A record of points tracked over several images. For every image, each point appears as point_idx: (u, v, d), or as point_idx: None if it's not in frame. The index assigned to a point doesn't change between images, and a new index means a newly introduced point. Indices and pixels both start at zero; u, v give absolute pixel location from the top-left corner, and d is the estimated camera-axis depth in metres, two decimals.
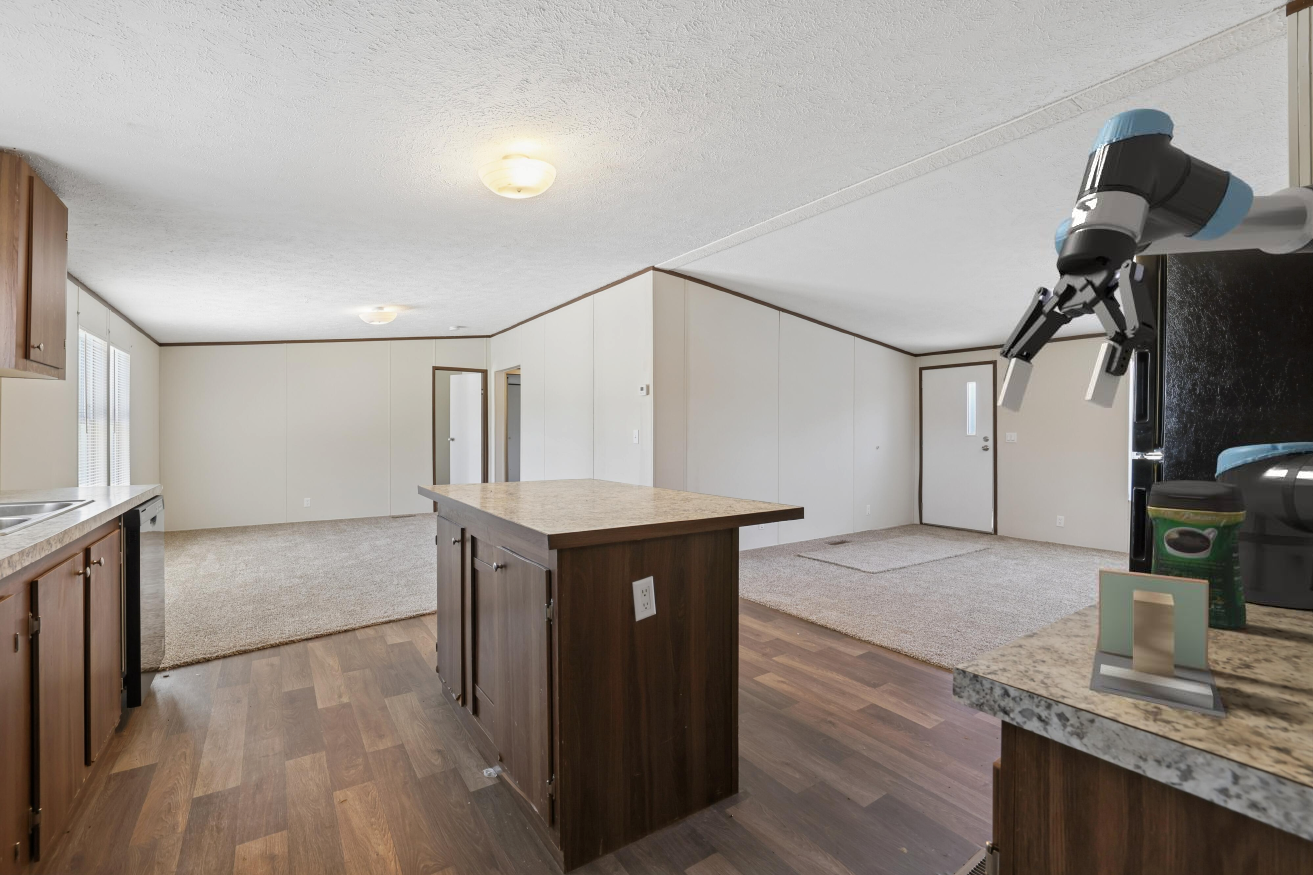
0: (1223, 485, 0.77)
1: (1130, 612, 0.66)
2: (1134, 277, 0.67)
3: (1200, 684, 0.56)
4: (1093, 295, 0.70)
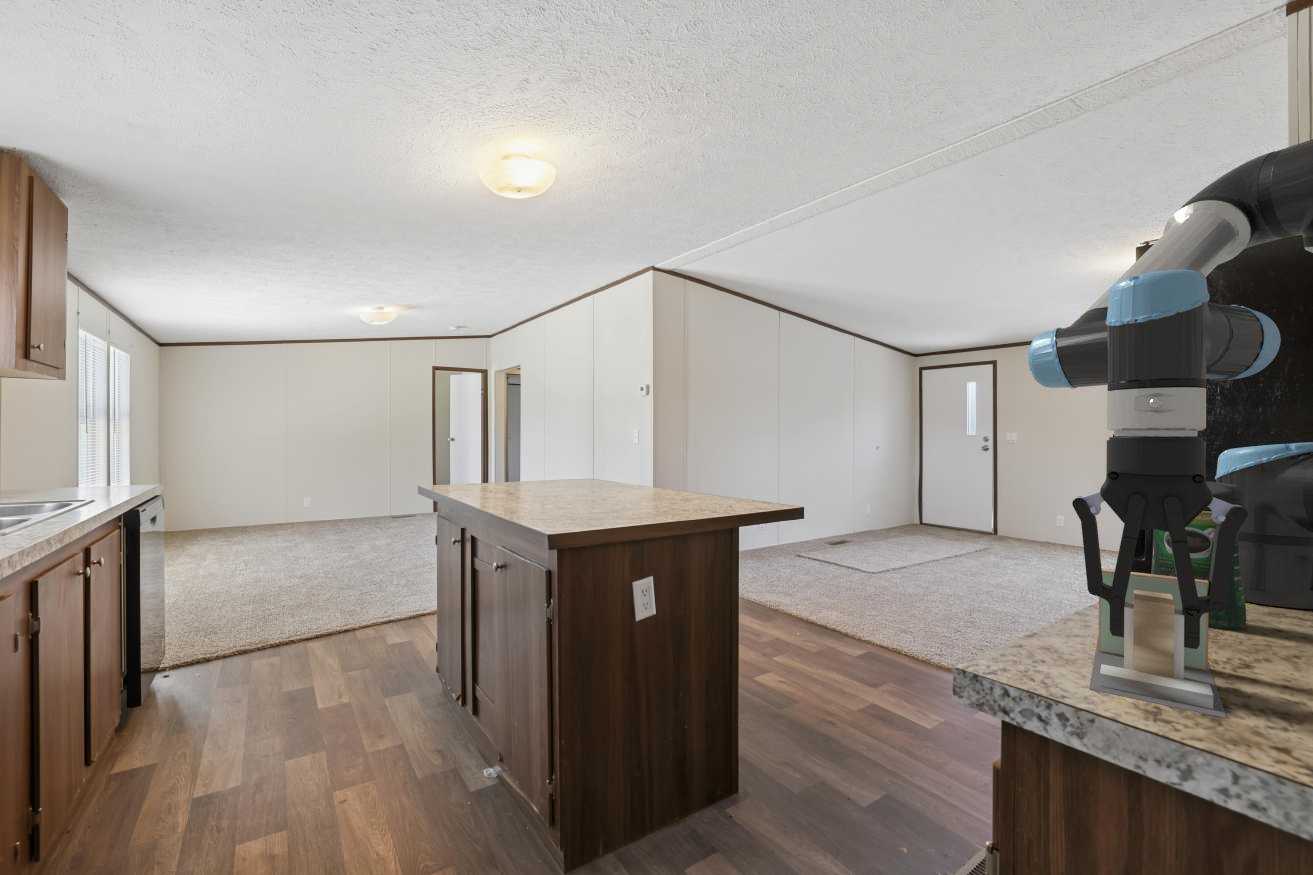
0: (1223, 485, 0.77)
1: None
2: None
3: (1200, 684, 0.56)
4: (1183, 535, 0.57)
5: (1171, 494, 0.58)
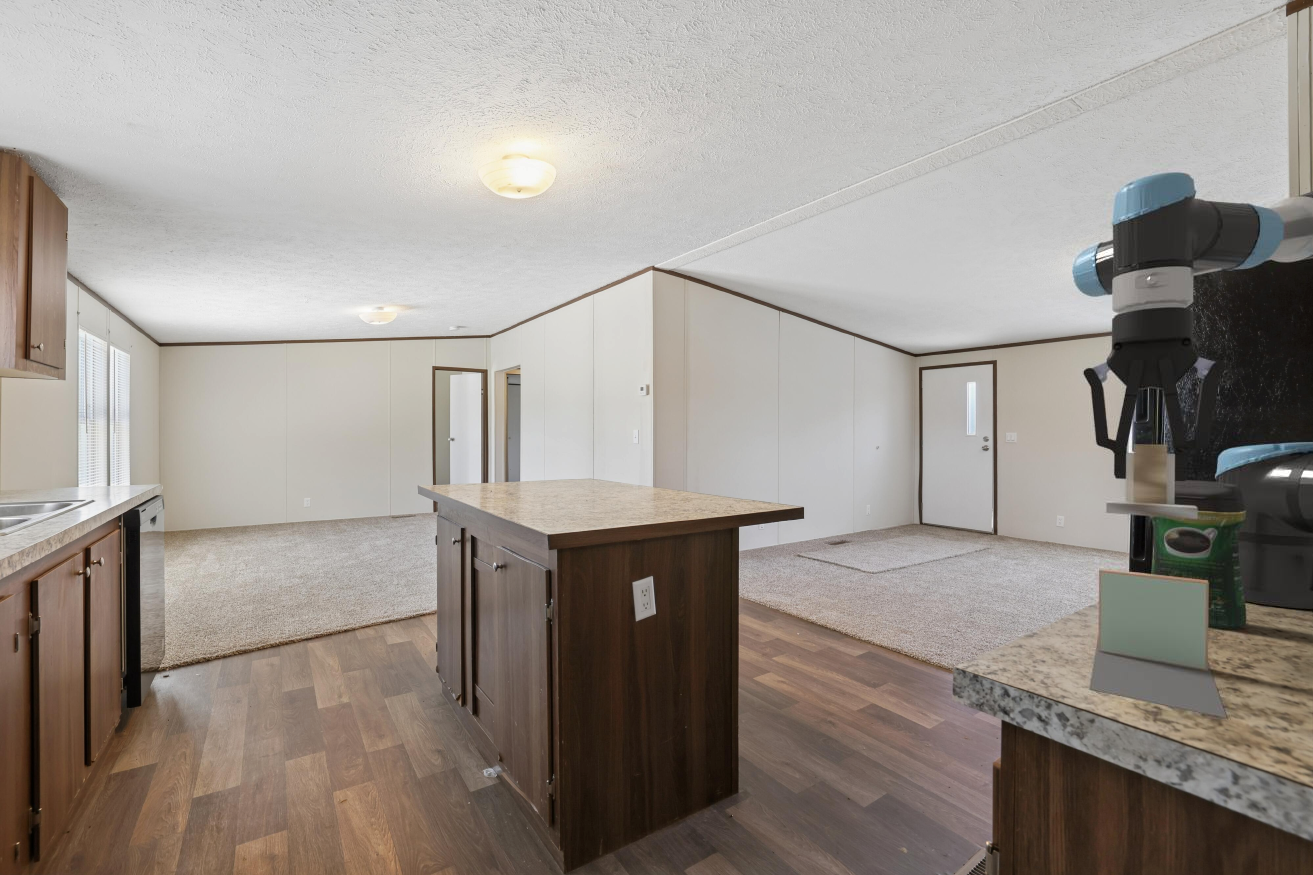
0: (1223, 485, 0.77)
1: (1130, 612, 0.66)
2: None
3: (1187, 505, 0.69)
4: (1174, 388, 0.70)
5: (1165, 357, 0.71)
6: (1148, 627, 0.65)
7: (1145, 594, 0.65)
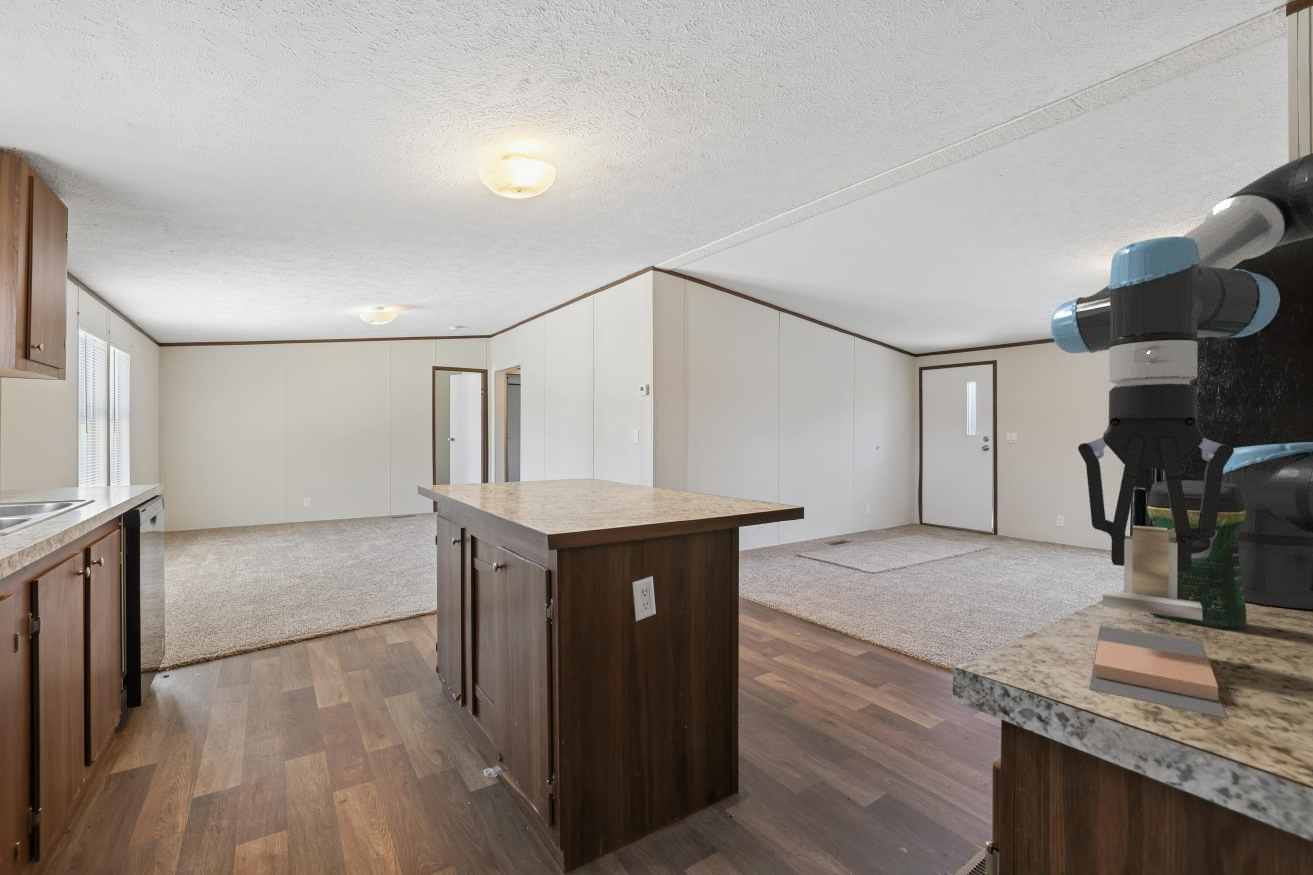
0: (1223, 485, 0.77)
1: None
2: None
3: (1191, 601, 0.63)
4: (1176, 471, 0.65)
5: (1166, 436, 0.65)
6: None
7: None
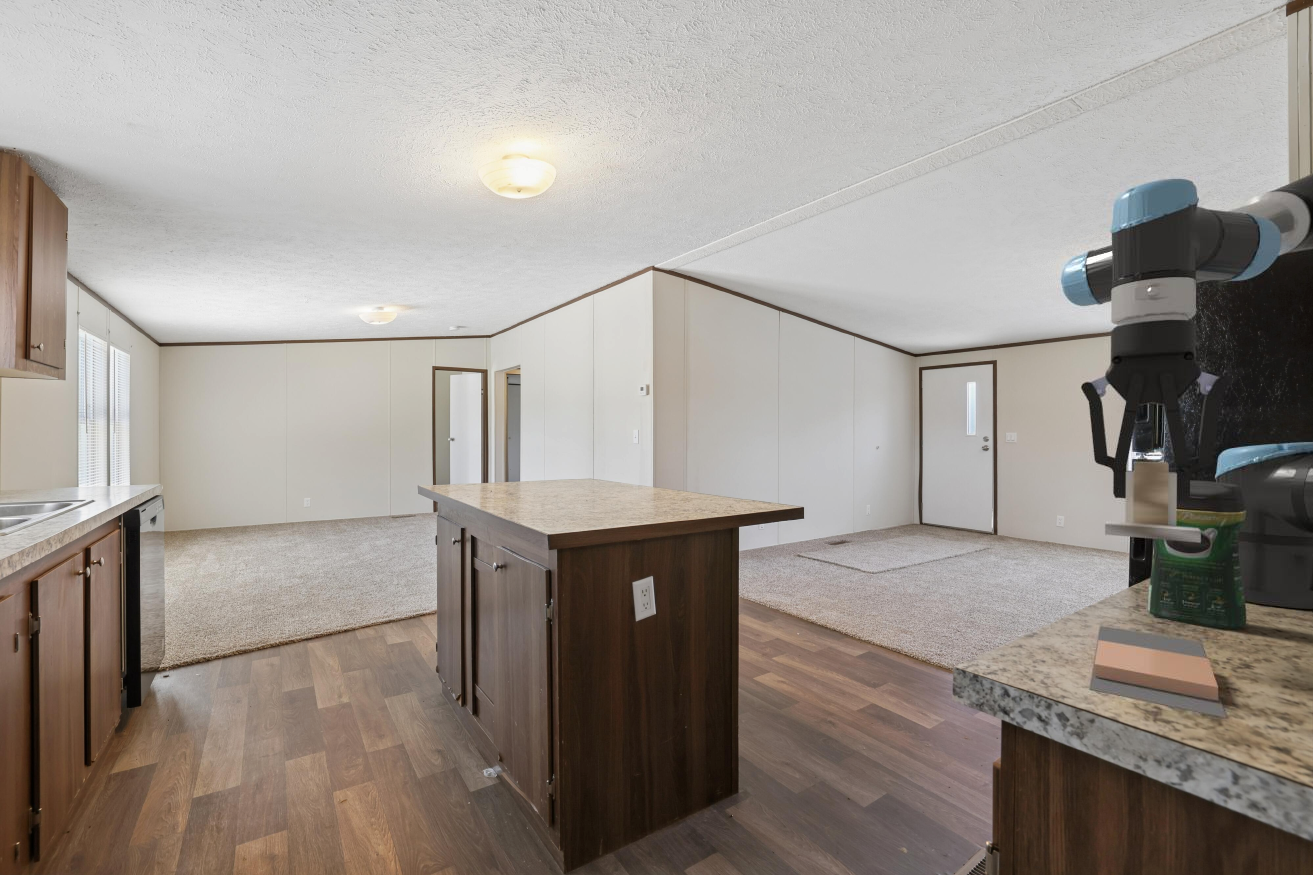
0: (1223, 485, 0.77)
1: None
2: None
3: (1190, 527, 0.66)
4: (1176, 404, 0.67)
5: (1166, 371, 0.68)
6: None
7: None
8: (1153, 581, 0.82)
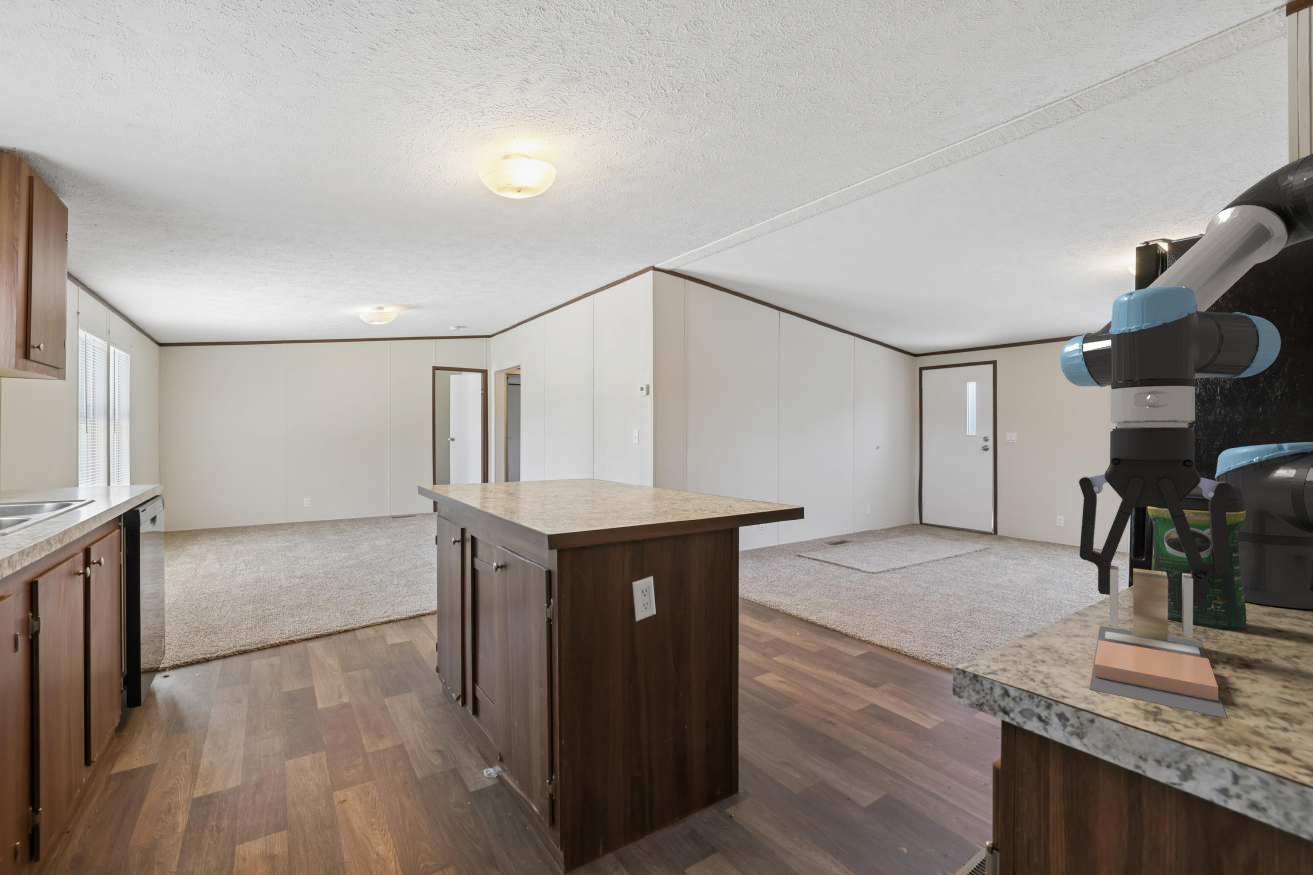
0: None
1: None
2: None
3: (1189, 646, 0.66)
4: (1180, 510, 0.67)
5: (1164, 477, 0.68)
6: None
7: None
8: None
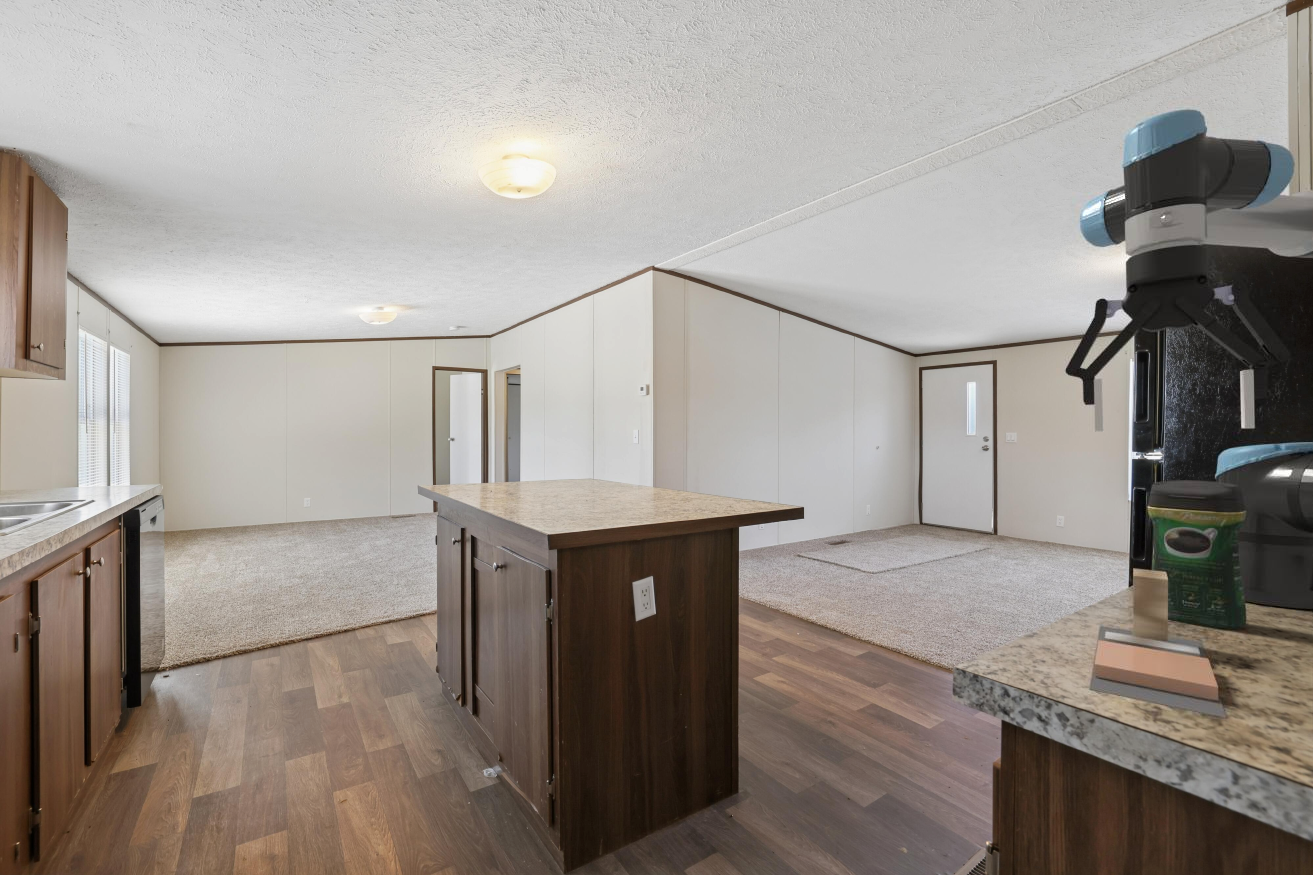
0: (1223, 485, 0.77)
1: None
2: None
3: (1189, 646, 0.66)
4: (1208, 317, 0.69)
5: (1177, 297, 0.71)
6: None
7: None
8: None
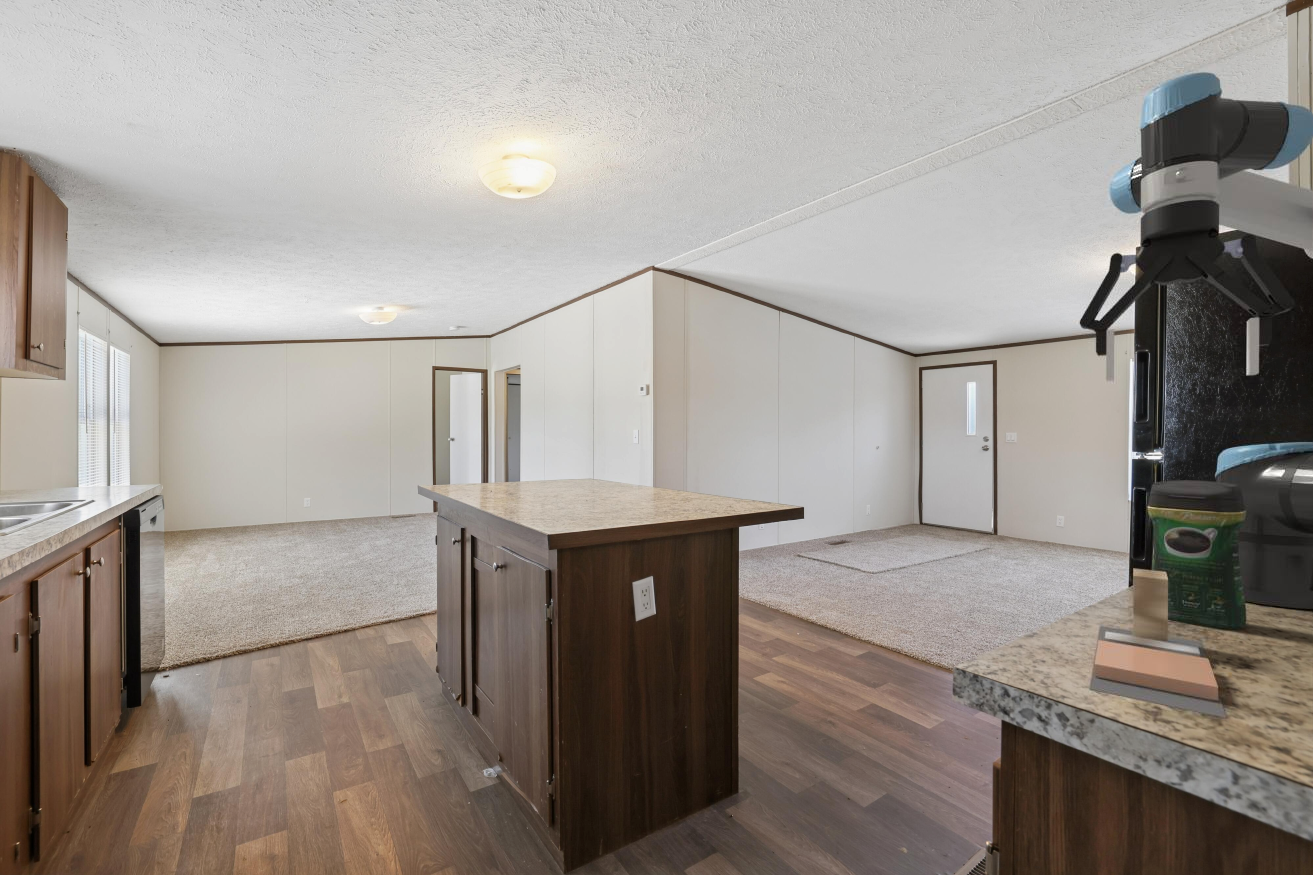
0: (1223, 485, 0.77)
1: None
2: None
3: (1189, 646, 0.66)
4: (1217, 268, 0.73)
5: (1188, 251, 0.75)
6: None
7: None
8: None
